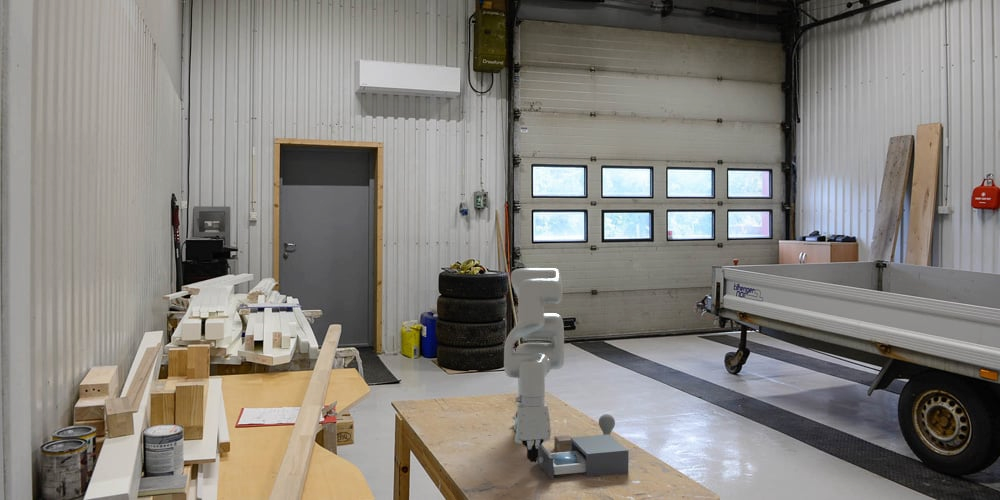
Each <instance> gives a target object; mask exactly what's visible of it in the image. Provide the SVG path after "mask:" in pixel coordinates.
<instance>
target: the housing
mask: <svg viewBox="0 0 1000 500" xmlns="http://www.w3.org/2000/svg"><path fill="white" fill-rule="evenodd" d="M570 437H571V436H570ZM571 451H578V452H579V453H580V454H581V455H582V457H583V458H584V459H585V460H586V472H582V474H584V475H585V477H586V478H594V477H604V476H607V477H608V476H614V475H615V476H616V475H625V474H629V449H628V448H627V447H625V446H624V445H623V444H622V443H621V442H619V441H618V440H617V439H616V438H614V437H613V436H612V435H611V433H610V434H607V435H603V434H597V435H596V434H595V435H584V436H573V437H571Z"/></svg>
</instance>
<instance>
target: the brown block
mask: <svg viewBox="0 0 1000 500" xmlns="http://www.w3.org/2000/svg"><path fill="white" fill-rule="evenodd" d="M553 439H554V441H553V442H554V446H553V447H554V449H555V450H556V451H557V453H558V452H570V451H571V436H570V435H569V434H564V435H554V438H553Z"/></svg>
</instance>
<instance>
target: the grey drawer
mask: <svg viewBox="0 0 1000 500" xmlns="http://www.w3.org/2000/svg"><path fill="white" fill-rule="evenodd" d="M559 453H571V454H574V455H576V456H577V463H575V464H565V465H556V464H555V463H554V455H556V454H559ZM536 463H537V464H538V465H539V467H541V469H542V470H543V471H544V473H545V474H546V475H547V477H548V478H549V479H550V480H551V479H552V480H553V479H554V475H555V476H557V475H567V474H577V473H583V472H586V460H585V459H584V458H583V457H582V455H581V454H580V453H579V452H578V451H570V452H558V451H557V452H549V451H548V450H547V449H546V447H544V445H543V443H542V444H541V445H540V446H539V449H538V458H536Z"/></svg>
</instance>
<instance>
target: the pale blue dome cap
mask: <svg viewBox="0 0 1000 500" xmlns="http://www.w3.org/2000/svg"><path fill="white" fill-rule="evenodd" d="M554 463H555V464H556V465H565V464H575V463H577V456H576V455H574V454H571V453H559V454H556V455H554Z"/></svg>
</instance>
